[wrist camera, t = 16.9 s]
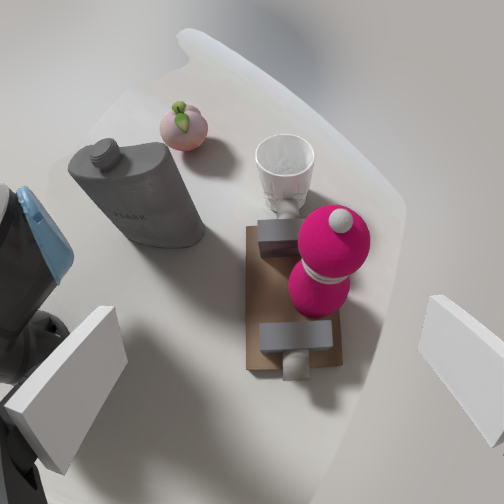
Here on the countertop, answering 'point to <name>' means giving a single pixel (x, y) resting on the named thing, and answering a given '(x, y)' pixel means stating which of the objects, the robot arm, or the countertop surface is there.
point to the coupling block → (283, 303)
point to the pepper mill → (327, 259)
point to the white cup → (284, 168)
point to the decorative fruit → (183, 127)
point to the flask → (139, 192)
